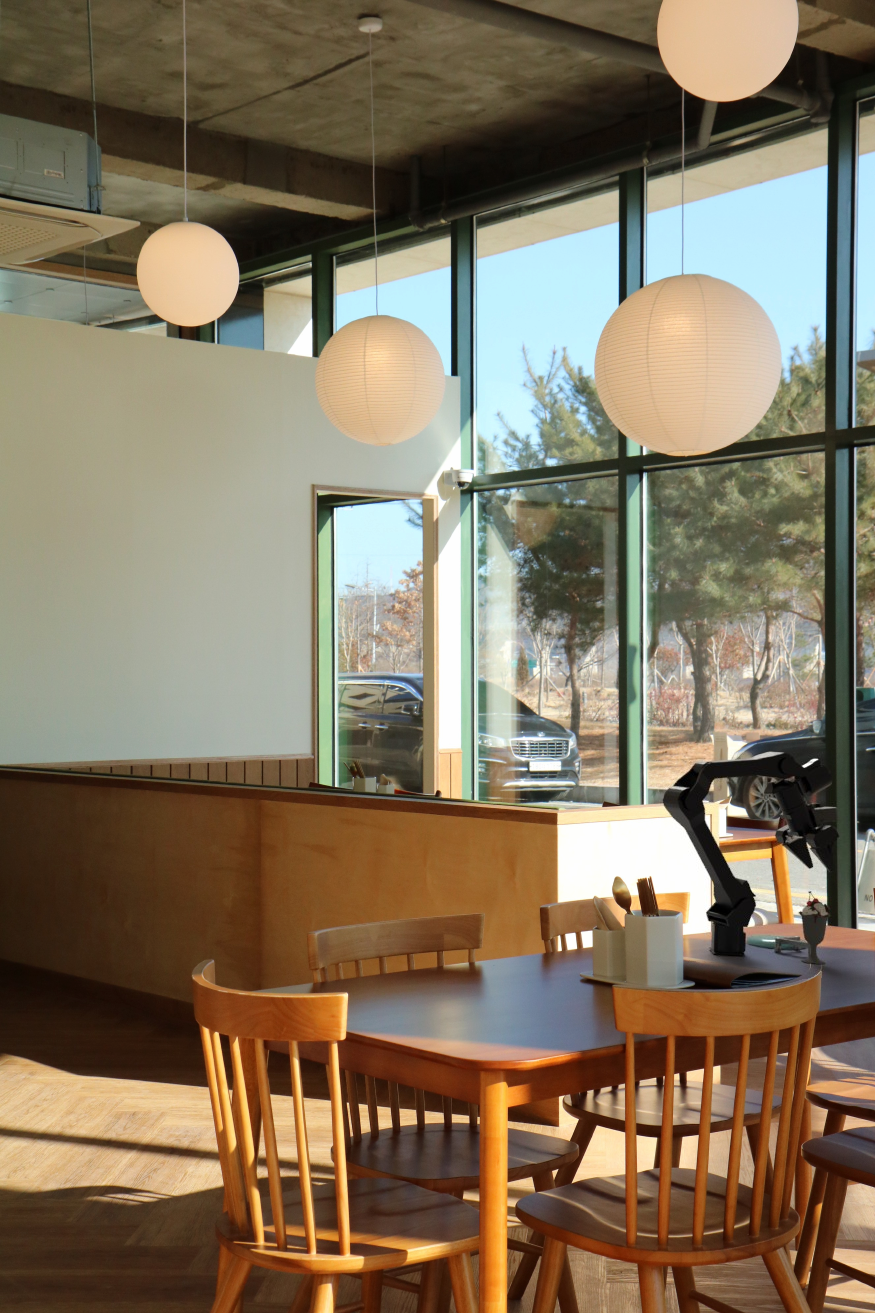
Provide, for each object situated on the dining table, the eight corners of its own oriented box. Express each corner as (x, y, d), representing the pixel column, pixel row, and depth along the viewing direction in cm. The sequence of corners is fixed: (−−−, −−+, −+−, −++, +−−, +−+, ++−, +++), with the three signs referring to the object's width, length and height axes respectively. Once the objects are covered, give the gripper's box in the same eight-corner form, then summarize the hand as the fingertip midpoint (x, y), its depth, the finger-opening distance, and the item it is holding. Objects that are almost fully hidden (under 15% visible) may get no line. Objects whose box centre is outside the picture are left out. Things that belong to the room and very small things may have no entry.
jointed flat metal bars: (780, 956, 284) (781, 942, 285) (770, 948, 294) (770, 934, 295) (815, 958, 284) (815, 943, 284) (803, 950, 294) (804, 936, 294)
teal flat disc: (753, 948, 294) (753, 943, 294) (741, 938, 307) (741, 933, 307) (812, 950, 294) (812, 946, 294) (797, 940, 307) (797, 936, 307)
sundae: (796, 963, 277) (798, 891, 278) (797, 958, 284) (799, 887, 284) (829, 966, 275) (831, 893, 276) (829, 961, 282) (831, 890, 282)
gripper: (845, 790, 285) (874, 856, 286) (802, 789, 304) (829, 851, 304) (802, 812, 283) (831, 879, 283) (762, 809, 301) (789, 872, 301)
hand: (821, 869), depth 293 cm, fingers open, 9 cm apart
